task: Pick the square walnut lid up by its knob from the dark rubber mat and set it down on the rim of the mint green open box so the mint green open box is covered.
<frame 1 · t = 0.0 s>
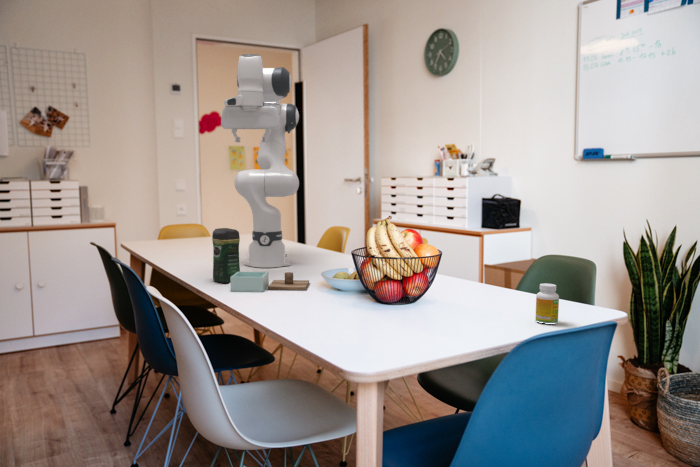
hand: (251, 142, 199), 48 cm above the table, fingers open, 8 cm apart
coffee jar: (226, 282, 198), on the table
mat: (289, 287, 188), on the table
supplement bottle: (546, 323, 145), on the table
mint green open box: (250, 289, 184), on the table
lid: (289, 286, 188), resting on mat
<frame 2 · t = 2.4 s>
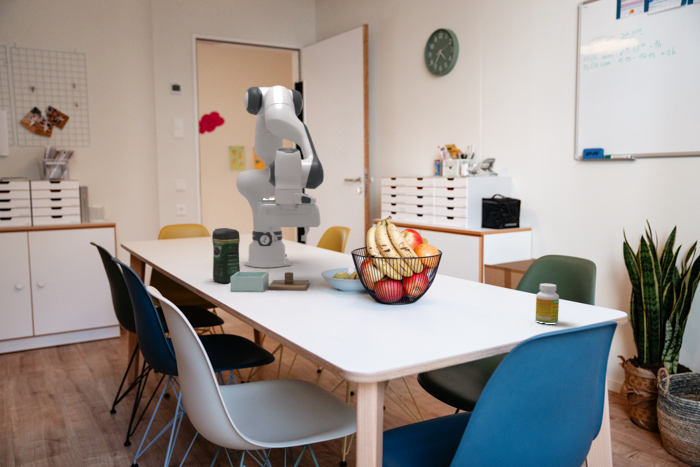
hand: (289, 241, 186), 15 cm above the table, fingers open, 8 cm apart
nothing on the table moved.
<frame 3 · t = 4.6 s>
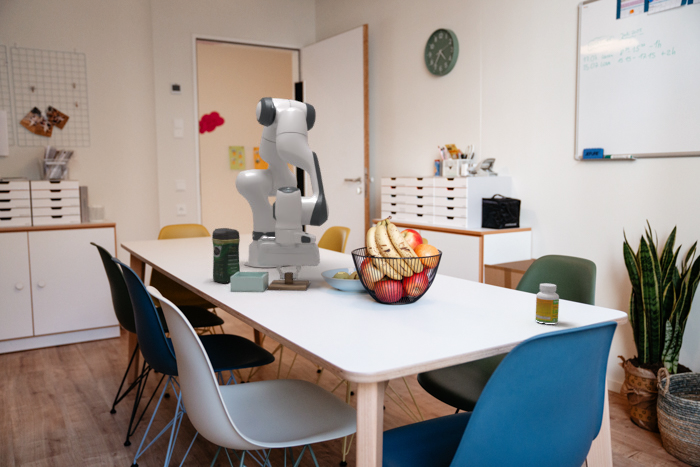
hand: (289, 279, 188), 3 cm above the table, fingers closed on lid, 3 cm apart
lid: (289, 286, 188), resting on mat, touching gripper
everything else where it was.
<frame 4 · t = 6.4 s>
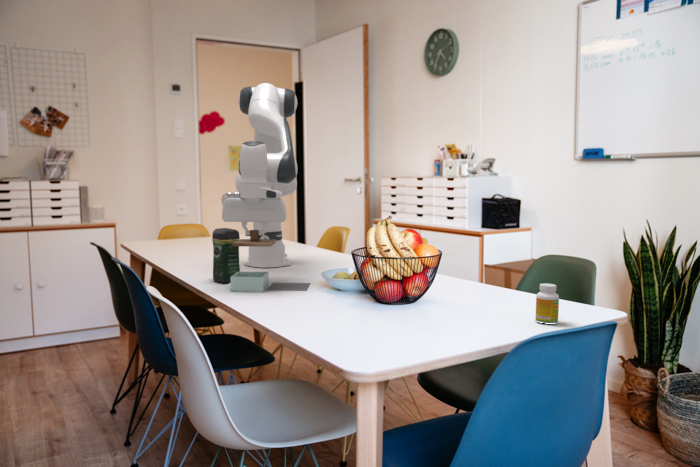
hand: (254, 236, 183), 17 cm above the table, fingers closed on lid, 3 cm apart
lid: (254, 244, 183), point 15 cm above the table, touching gripper
everything else where it was.
when the fingers open (9 cm above the table, at t = 8.7 s): lid drops 1 cm, resting on mint green open box.
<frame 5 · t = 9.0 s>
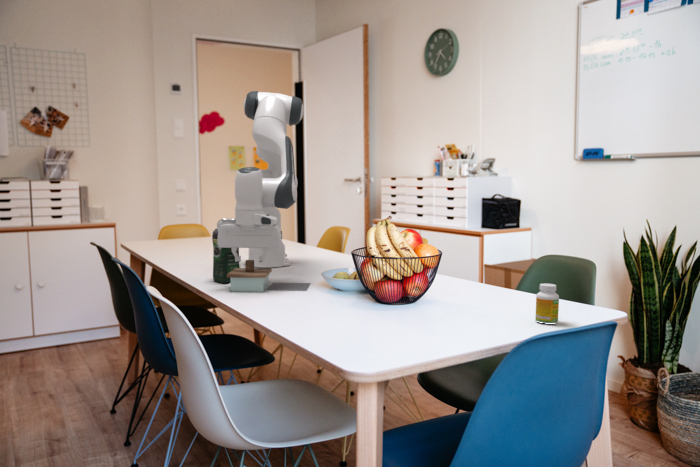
hand: (249, 261, 183), 9 cm above the table, fingers open, 6 cm apart
lid: (249, 274, 184), point 5 cm above the table, touching mint green open box
everything else where it was.
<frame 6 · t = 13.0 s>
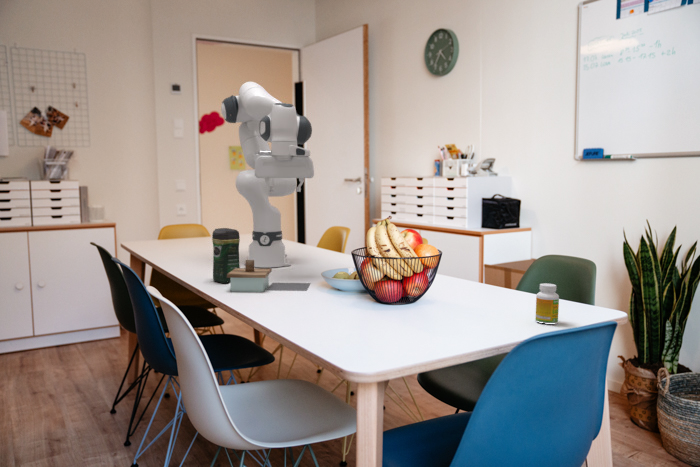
hand: (284, 191, 197), 31 cm above the table, fingers open, 8 cm apart
nothing on the table moved.
at the end: lid 0.0 cm off-centre on the mint green open box, point 5.0 cm above the mint green open box's base; lid tilted 0°; the gripper is holding nothing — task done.
